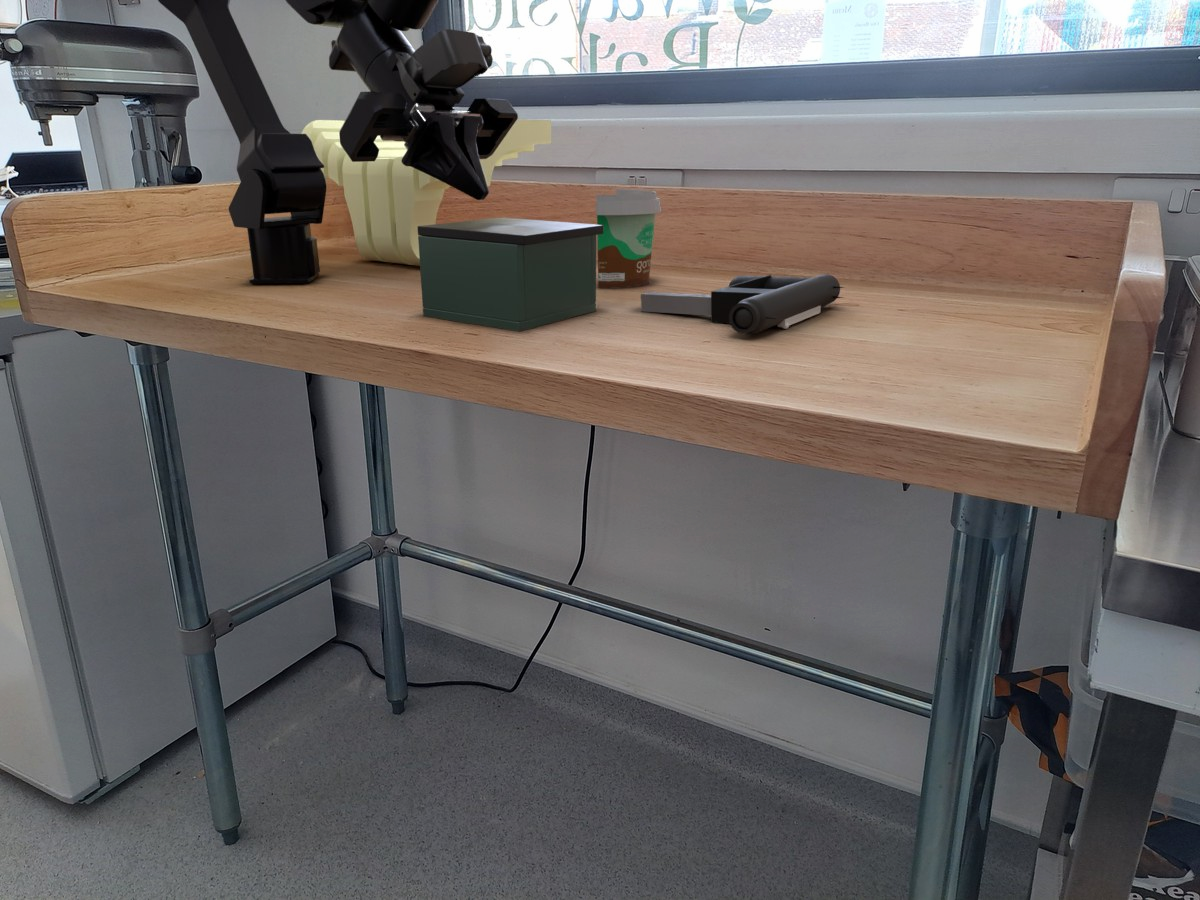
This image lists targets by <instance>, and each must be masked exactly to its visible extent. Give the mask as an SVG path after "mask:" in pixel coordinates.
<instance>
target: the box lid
mask: <svg viewBox="0 0 1200 900" xmlns="http://www.w3.org/2000/svg"><path fill="white" fill-rule="evenodd" d="M603 229H604V226H603V225H597V224H593V223H583V222H580V223H579V222H569V221H568V222H567V221H555V220H554V221H552V220H539V219H527V218H513V217H494V218H483V219H473V220H464V221H457V222H456V221H454V222H446V223H445V222H444V223H436V224H434V225H424V226H418V235H422V236H432V237H443V238H453V239H464V240H474V241H485V242H495V243H506V244H516V245H530V244H537V243H544V242H551V241H558V240H564V239H571V238H578V237H585V236H592V235H596V236H597V235H599V234H603Z"/></svg>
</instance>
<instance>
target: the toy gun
mask: <svg viewBox="0 0 1200 900" xmlns="http://www.w3.org/2000/svg"><path fill="white" fill-rule="evenodd" d="M841 289H845V287H843V286H841V284H840V282H839V280H838V278H837V277H835V276H834V275H832V274H830V273H829V274H827V273H822V274H819V275H816V276H813V277H803V276H801V277H800V276H772V275H771V274H767V275H738V276H736V277H734V278H733V279H732V280H731V281H730V282H729V285H728V286H726V287H722V288H717V289H714V290H711V291H710V294H706V293H705V294H704V293H703V294H702V293H685V292H683V293H681V292H661V291H659V292H658V291H648V292H645V293H641V294H640V308H641V309H640V311H641V312H644V313H645V312H647V313H664V314H681V315H696V316H697V315H698V316H710V317H711V318H710V320H711V321H710V322H711V323H716V324H717V323H718V324H729V325H730V326H731V328H732V330H734V331H735V332H737V333H739V334H745V335H755V334H757V333H760V332H763V331H765V330H768V329H770V328H772V327H775V326H777V328H782V329H783V330H787V329H789V327H790V326H791V325H794V324H797V323H799V322H802V321H804V320H806V319H808V318H811V317H813V316H817V315H818V314H820V313H821V309H822V307H825V306H827V305H830V304H832V303H834V302H835V301H836V300H837V299H845V297H844V296H839V295H840V293H841Z"/></svg>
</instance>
